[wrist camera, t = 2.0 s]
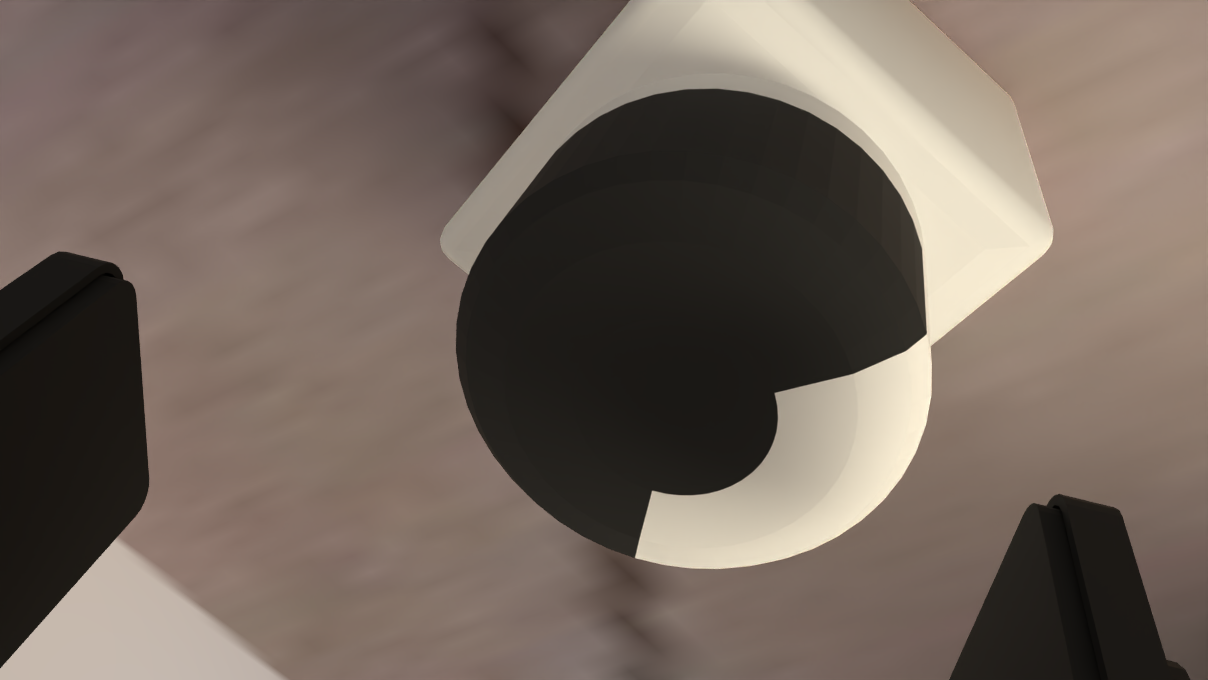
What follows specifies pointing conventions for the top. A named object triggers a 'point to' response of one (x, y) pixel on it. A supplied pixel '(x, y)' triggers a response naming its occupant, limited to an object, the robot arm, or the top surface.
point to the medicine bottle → (736, 270)
